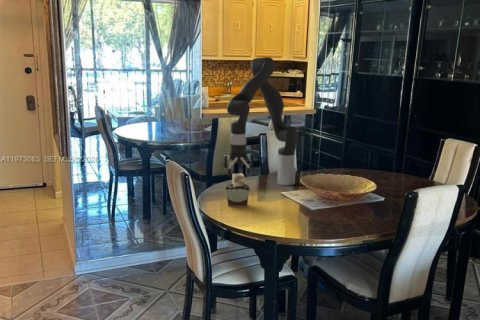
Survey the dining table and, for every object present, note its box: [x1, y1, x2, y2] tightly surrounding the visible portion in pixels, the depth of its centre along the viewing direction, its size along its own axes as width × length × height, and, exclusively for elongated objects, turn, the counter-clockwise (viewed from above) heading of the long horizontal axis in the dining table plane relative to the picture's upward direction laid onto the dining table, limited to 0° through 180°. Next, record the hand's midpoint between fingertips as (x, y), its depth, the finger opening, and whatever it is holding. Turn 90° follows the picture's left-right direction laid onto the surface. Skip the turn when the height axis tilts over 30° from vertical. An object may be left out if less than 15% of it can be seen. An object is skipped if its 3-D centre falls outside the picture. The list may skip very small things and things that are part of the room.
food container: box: [224, 183, 251, 208], centre depth 217 cm, size 12×6×10 cm, turn 84°
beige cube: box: [231, 172, 245, 187], centre depth 215 cm, size 5×5×5 cm
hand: (238, 175), depth 214 cm, fingers open, 8 cm apart
